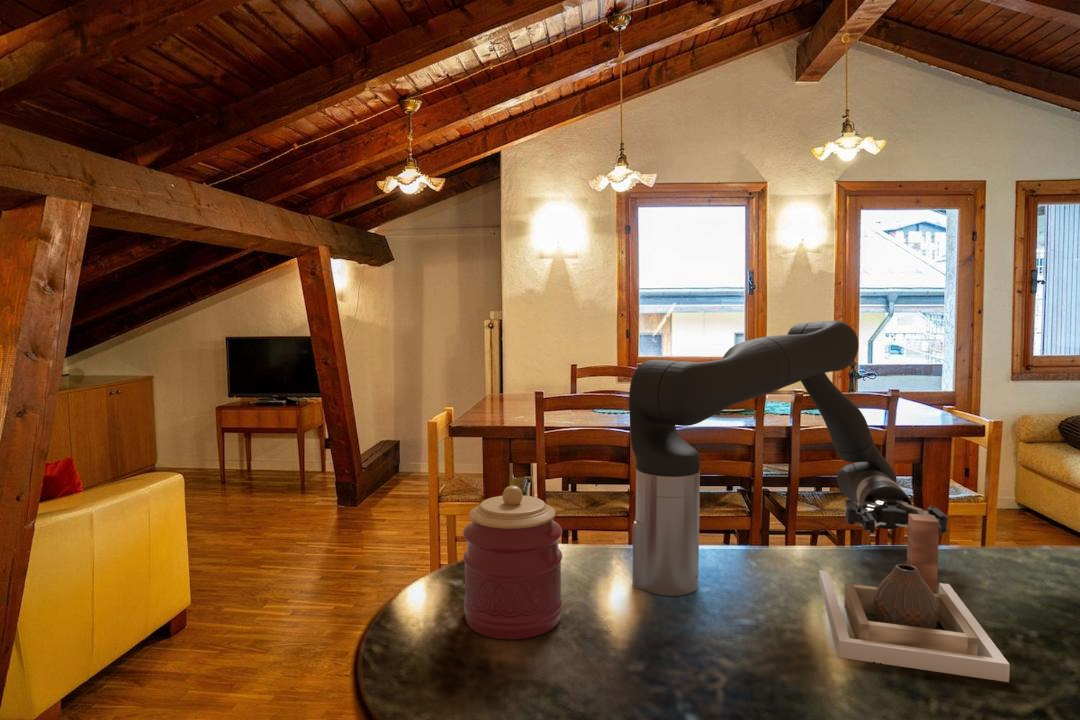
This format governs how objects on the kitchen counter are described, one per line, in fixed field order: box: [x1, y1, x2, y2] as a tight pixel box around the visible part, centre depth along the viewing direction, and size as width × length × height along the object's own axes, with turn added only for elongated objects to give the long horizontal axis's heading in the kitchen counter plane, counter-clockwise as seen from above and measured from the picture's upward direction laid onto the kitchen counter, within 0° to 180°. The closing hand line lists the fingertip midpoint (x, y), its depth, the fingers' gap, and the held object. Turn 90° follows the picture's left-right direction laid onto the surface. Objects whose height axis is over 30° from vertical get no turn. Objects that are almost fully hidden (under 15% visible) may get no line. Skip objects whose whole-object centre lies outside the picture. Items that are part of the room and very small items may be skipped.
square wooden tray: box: [844, 514, 979, 656], centre depth 82 cm, size 12×18×12 cm
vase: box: [874, 563, 939, 629], centre depth 79 cm, size 7×7×9 cm
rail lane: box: [818, 569, 1011, 683], centre depth 82 cm, size 17×22×2 cm
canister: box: [462, 485, 563, 640], centre depth 84 cm, size 13×13×18 cm
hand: (903, 529), depth 98 cm, fingers open, 8 cm apart
